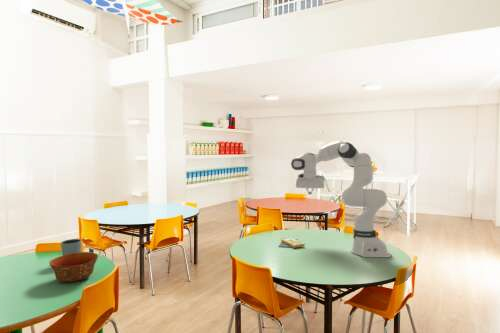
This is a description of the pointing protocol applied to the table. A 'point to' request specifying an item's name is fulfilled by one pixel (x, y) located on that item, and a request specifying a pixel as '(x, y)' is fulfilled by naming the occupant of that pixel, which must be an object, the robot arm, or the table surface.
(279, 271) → the table surface
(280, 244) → the mat
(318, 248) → the table surface
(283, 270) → the table surface
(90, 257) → the bowl
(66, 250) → the grey cylinder
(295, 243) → the candy box
